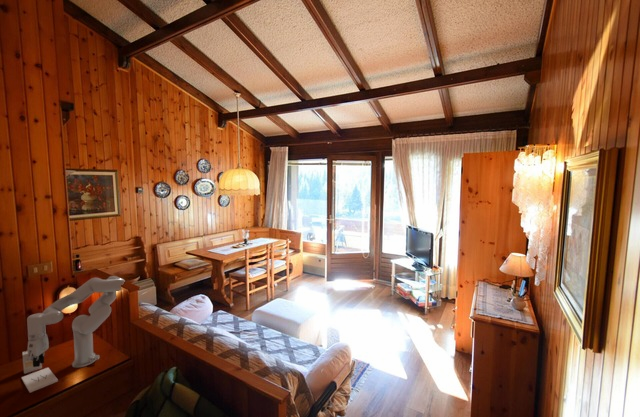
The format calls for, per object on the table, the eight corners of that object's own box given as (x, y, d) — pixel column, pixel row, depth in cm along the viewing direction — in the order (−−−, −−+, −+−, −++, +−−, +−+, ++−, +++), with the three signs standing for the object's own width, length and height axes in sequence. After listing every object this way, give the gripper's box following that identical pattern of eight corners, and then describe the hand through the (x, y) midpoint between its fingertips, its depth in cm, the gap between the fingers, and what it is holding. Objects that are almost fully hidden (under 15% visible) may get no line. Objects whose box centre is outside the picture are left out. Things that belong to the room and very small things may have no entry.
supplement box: (41, 366, 187) (40, 346, 186) (42, 369, 184) (41, 349, 183) (23, 371, 181) (22, 351, 180) (23, 375, 178) (22, 354, 177)
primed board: (57, 381, 172) (57, 379, 172) (29, 392, 163) (29, 390, 163) (48, 369, 184) (48, 367, 184) (21, 379, 174) (21, 377, 174)
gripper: (33, 341, 164) (35, 372, 165) (54, 328, 180) (55, 356, 181) (18, 342, 163) (20, 373, 164) (40, 328, 179) (41, 357, 180)
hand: (38, 364), depth 173 cm, fingers closed
